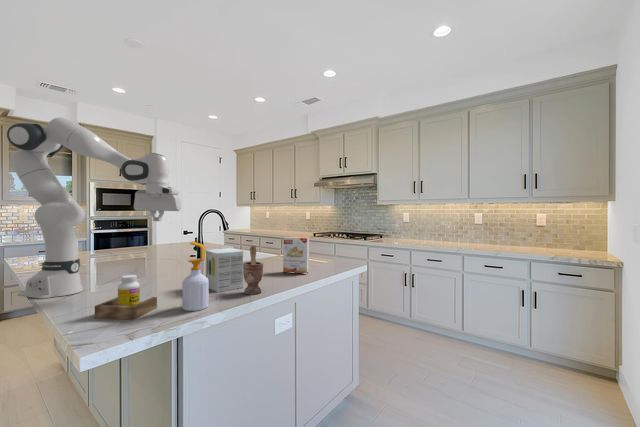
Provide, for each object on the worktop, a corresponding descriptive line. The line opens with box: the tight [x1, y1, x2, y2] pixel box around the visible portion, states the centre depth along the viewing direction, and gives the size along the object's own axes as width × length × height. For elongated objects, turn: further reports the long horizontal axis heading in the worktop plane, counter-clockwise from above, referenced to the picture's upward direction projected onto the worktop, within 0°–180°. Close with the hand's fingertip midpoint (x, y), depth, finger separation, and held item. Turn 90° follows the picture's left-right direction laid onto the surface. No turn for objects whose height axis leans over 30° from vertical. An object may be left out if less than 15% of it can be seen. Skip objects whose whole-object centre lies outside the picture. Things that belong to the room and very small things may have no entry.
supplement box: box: [205, 247, 244, 293], centre depth 146 cm, size 13×13×18 cm
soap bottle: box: [181, 241, 210, 312], centre depth 116 cm, size 9×9×25 cm
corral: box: [94, 296, 158, 321], centre depth 110 cm, size 14×12×4 cm
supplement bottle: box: [117, 274, 141, 306], centre depth 111 cm, size 7×7×13 cm
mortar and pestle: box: [243, 245, 264, 295], centre depth 139 cm, size 12×9×20 cm
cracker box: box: [282, 236, 310, 274], centre depth 180 cm, size 14×6×21 cm, turn 81°
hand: (157, 221), depth 138 cm, fingers closed
